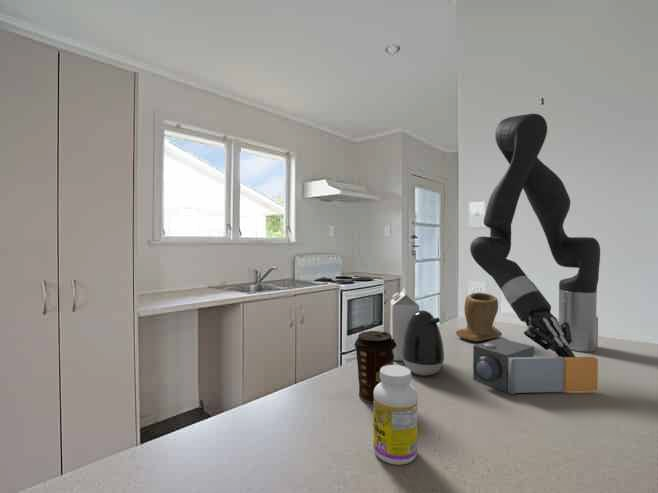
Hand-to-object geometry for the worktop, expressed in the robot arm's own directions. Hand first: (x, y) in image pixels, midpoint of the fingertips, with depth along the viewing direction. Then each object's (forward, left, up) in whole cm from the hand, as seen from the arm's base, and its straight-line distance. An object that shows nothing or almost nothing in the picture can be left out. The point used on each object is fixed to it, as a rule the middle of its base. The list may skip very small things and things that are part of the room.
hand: (572, 364), depth 75 cm
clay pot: (-8, -37, -6) cm, 39 cm away
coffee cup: (+43, -9, -6) cm, 44 cm away
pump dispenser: (+26, -18, -6) cm, 32 cm away
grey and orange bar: (+6, 0, -5) cm, 8 cm away
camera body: (+12, -8, -5) cm, 15 cm away
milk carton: (+25, -29, -6) cm, 39 cm away
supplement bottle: (+48, +9, -6) cm, 49 cm away
